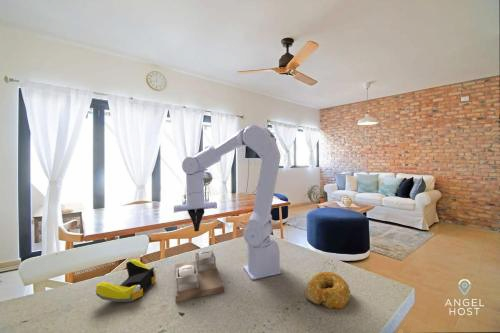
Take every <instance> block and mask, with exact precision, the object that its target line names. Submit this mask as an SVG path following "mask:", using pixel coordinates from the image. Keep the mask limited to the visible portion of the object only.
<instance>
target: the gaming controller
mask: <svg viewBox="0 0 500 333" xmlns="http://www.w3.org/2000/svg"><path fill="white" fill-rule="evenodd" d="M125 267H126V270H127V278H126V279H125V280H124V281H123V282H122V283H121V284H119V285H117V284H113V283H110V282H105V281H101V282H99V283H97V285H96V289H95V295H96V296H97V297H98V298H100V299H101V300H104V301H109V302H117V303H131V302H133V301H135V300H137V299H140V297H143V296H144V294H145V293H146V292H147V290H149V288H150V287H152V285H153V284H155V281H156V278H157V276H156V272H157V267H149V266H147V265H146V264H145V263H143V262H141V261H140V260H138V259H135V258H134V259H133V258H132V259H130V260H129V261H127V262H126V265H125Z"/></svg>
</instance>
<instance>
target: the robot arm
mask: <svg viewBox="0 0 500 333" xmlns="http://www.w3.org/2000/svg"><path fill="white" fill-rule="evenodd" d="M277 144H278V143H277V142H276V135H274V134H273V133H272V132H271V131H270V129H268V128H265V127H261V126H258V125H257V124H256V125H255V124H250V125H248V126H246V127H245V128H242V129H240V130H238V132H237V133H235V134H233V135H232V136H230V137H229V138H228V139H226V140H225V141H222V143H220V144H218V145H217V146H213V145H207V146H205V147H204V150H202V151H200V152H196V153H194V156H186V158H184V159H183V161H182V162H181V167H182V170H183V172H184V173H185V178H186V179H185V180H186V182H185V183H186V203H185V204H184V203H183V204H177V205H173V213H179V212H187V213H188V216H189V218H190V220H191V222H192V225H193V231H194V232H200V226H201V222H202V219H203V217H204V214H205V210H210V209H218V203H217V201H212V202H211V201H209V202H208V201H207V202H206V201H205V194H204V193H205V192H204V188H205V187H204V176H205V171H206V170H207V169H208V168H210V167H212V166H213V165H216V164H217V163H219V162H221V160H222V156H225V155H226V154H228V153H230V152H232V151H234V150H236V149H238V148H240V147H244V146H245V147H248V148H249V149H251V150H253V151H254V152H255V153H256V154H257V156H258V157H259V158H260V159H261V163H260V170H259V175H258V181H257V187H256V193H255V199H254V204H253V210H252V212H251V215H250V216H249V219H248V223H247V226H246V227H245V228H244V230H243V233H242V234H243V240H244V241H245V243H246V244H247V250H246V251H247V252H246V253H247V256H246V257H247V264H244V265H243V269H244V270H245V272H246V274H247V275H248V276H249V278H250V279H251V280H253V281H254V280H257V279H261V278H262V279H263V278H266V277H267V278H268V277H271V276H276V275H279V274H281V273H282V271H281V265H280V259H281V258H280V254H281V253H280V247H279V245H278V242H277V241H276V240H275V239H271V238H270V235H271V234H272V232H273V230H274V226H273V223H272V220H273V215H272V214H271V212H272V205H273V202H274V200H273V199H274V196H275V191H276V190H275V189H276V183H277V178H278V174H279V167H280V164H281V162H280V161H281V153H280V152H281V151H280V150H279V147H278V145H277Z"/></svg>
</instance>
